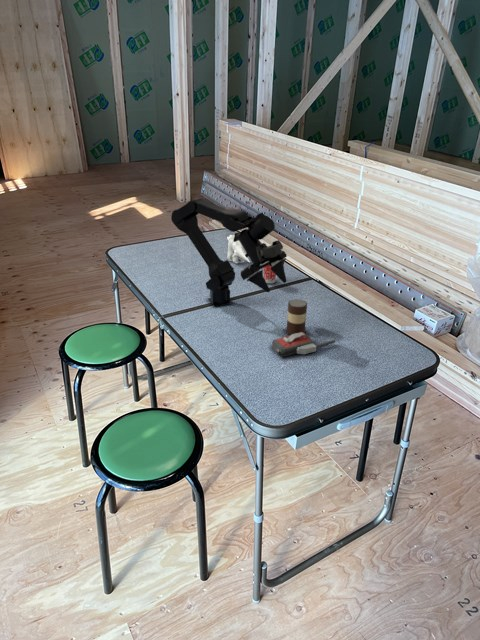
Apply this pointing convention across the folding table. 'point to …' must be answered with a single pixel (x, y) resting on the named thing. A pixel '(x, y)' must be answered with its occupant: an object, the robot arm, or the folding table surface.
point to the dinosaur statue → (236, 250)
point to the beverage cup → (269, 274)
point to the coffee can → (296, 316)
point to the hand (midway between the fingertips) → (277, 287)
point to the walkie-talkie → (296, 344)
